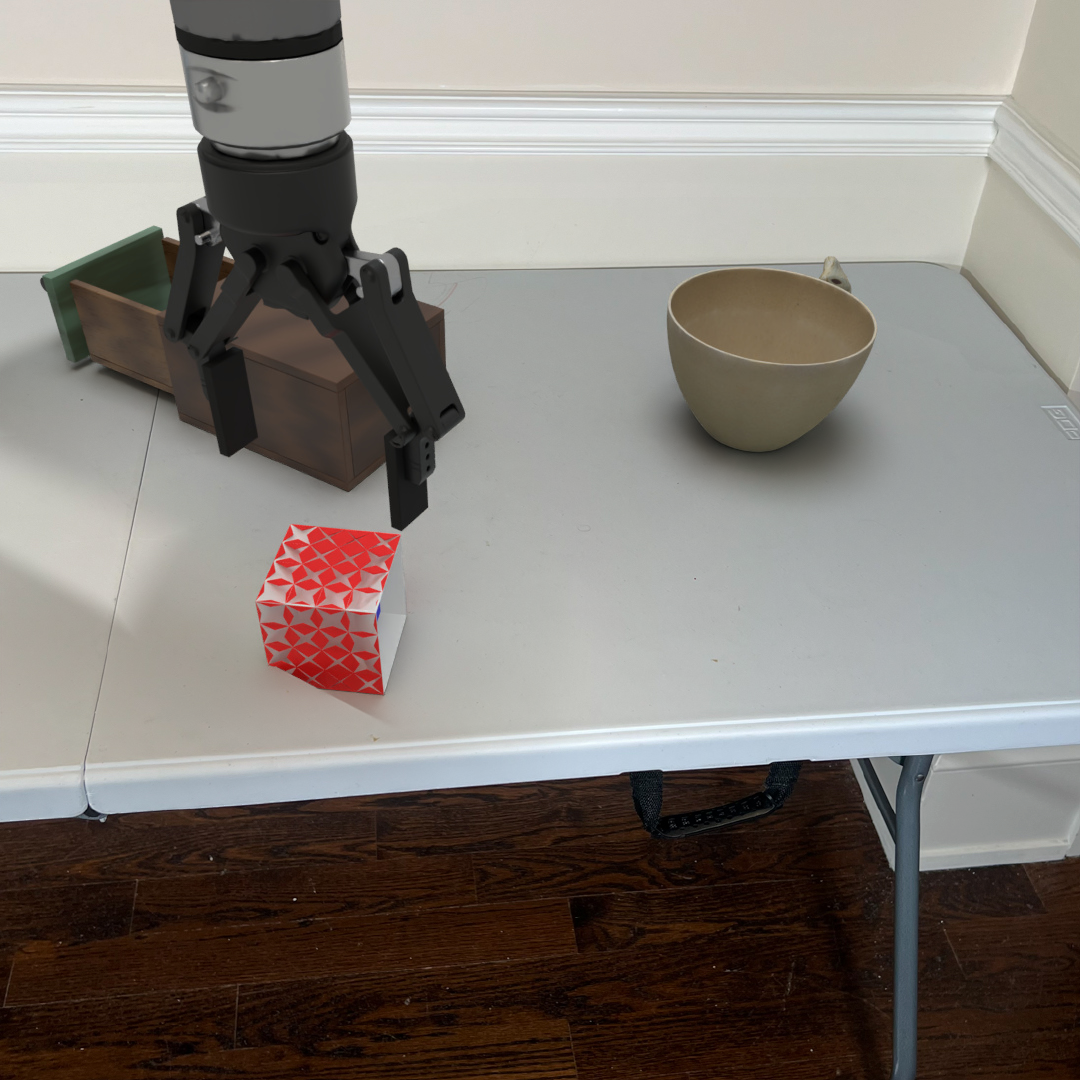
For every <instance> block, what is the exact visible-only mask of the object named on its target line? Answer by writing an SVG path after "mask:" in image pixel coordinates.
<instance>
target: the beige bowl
mask: <svg viewBox="0 0 1080 1080" xmlns="http://www.w3.org/2000/svg"><path fill="white" fill-rule="evenodd" d="M666 307H667V310H666V333H667V334H666V335H667V344H668V351H669V356H670V362H671V366H672V369H673V373H674V376H675V380H676V383H677V385H678V389H679V391H680V392H681V395H682V397H683V398H684V401H685V403H686V404H687V406H688V408H689V409H690V411H691V412H692V413H693V416H694V417H695V418H696V420H697V421H698V423H699V424H700V425H701V427H702V428H703V429H704V431H705V432H707V434H708V435H710V436H711V437H712V438H713V439H714V440H715V441H717V442H719V443H720V444H722V445H724V446H727V447H728V448H732V449H736V450H739V451H743V452H752V453H753V452H754V453H763V452H772V451H776V450H779V449H781V448H783V447H785V446H788V445H790V444H791V443H793V442H794V441H796V440H798V439H799V438H801V437H803V436H804V435H805V434H807V433H808V432H810V431H811V430H813V429H814V428H816V426H818V425H819V424H820V423H821V422H822V421H824V419H826V418H827V417H828V415H830V414H831V413H832V412H833V410H834V409H836V407H837V406H838V405H839V404H840V403H841V402H842V400H843V399H844V398H845V397H846V395H847V394H848V392H849V391H850V389H851V388H852V387H853V386H854V384H855V382H856V381H857V379H858V377H859V375H860V373H861V372H862V370H863V368H864V367H865V365H866V362H867V361H868V358H869V356H870V355H871V351H872V350H873V347H874V344H875V341H876V338H877V335H878V323H877V320H876V317H875V315H874V314H873V312H872V311H871V309H870V308H869V307H868V306H867V305H866V304H865V303H864V302H863V301H862V300H861V299H860V298H858V297H857V296H855V295H854V294H852V292H851V293H849V292H847V291H846V290H844V289H842V288H840V287H838V286H836V285H833V284H831V283H829V282H826V281H824V280H821V279H819V278H818V277H815V276H811V275H808V274H804V273H800V272H796V271H791V270H784V269H779V268H771V267H770V268H769V267H760V266H759V267H758V266H735V267H723V268H717V269H716V268H715V269H711V270H707V271H704V272H700V273H697V274H694V275H692V276H690V277H688V278H686V279H684V280H683V281H681V282H680V283H678V284H677V285H676V286H675V287H674V289H673V290H672V291H671V292H670V294H669V295H668V300H667V306H666Z"/></svg>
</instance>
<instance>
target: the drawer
mask: <svg viewBox="0 0 1080 1080" xmlns="http://www.w3.org/2000/svg"><path fill="white" fill-rule="evenodd" d="M179 244H180V240H178V239H175V238H172V237H170V236H165V235H164V230H163V228H162V227H160V226H157V225H152V226H149V227H147V228H144V229H143V230H141V231H138V232H136V233H134V234H131V235H129V236H127V237H124V238H122V239H120V240H118V241H116V242H114V243H112V244H109V245H107V246H105V247H102V248H100V249H98V250H96V251H94V252H91V253H89V254H87V255H85V256H82V257H80V258H78V259H76V260H73V261H71V262H69V263H67V264H65V265H63V266H60V267H58V268H55V269H54V270H51V271H49V272H47V273H45V274H42V275H41V277H40V279H39V283H40V286H41V287H42V289H43V290H44V291H45V292H46V293H47V297H48V300H49V303H50V307H51V310H52V313H53V316H54V320H55V323H56V327H57V330H58V333H59V337H60V341H61V343H62V346H63V351H64V353H65V356H66V359H67V361H70V362H72V363H75V364H77V363H78V362H80V361H83V360H84V359H86V358H88V357H90V360H91V361H92V362H94V363H97V364H98V365H101V366H104V367H106V368H108V369H110V370H113V371H116V372H118V373H120V374H123V375H125V376H127V377H130V378H133V379H135V380H137V381H140V382H142V383H144V384H147V385H149V386H152V387H155V388H156V389H159V390H161V391H163V392H166V393H169V394H171V395H173V396H174V392H173V388H172V383H171V379H170V375H169V370H168V366H167V362H166V357H165V353H164V349H163V344H162V340H161V336H160V331H159V327H158V323H157V318H156V314H158V313H160V312H162V311H164V310H166V309H167V304H168V299H169V294H170V289H171V284H172V279H173V274H174V269H175V264H176V259H177V254H178V249H179ZM234 262H235V260H234V259H233V258H232V257H228V256H226V255H224V256H223V260H222V264H221V268H220V272H219V276H218V280H217V282H219V281H221V280H223V279H225V278H226V277H227V276H228V275H229V273H230V272H231V270H232V268H233V267H234Z"/></svg>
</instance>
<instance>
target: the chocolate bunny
mask: <svg viewBox="0 0 1080 1080" xmlns="http://www.w3.org/2000/svg"><path fill="white" fill-rule="evenodd" d="M822 269H823V270H822V272H821V274H820V276H819V278H818V279H821V280H824V281H826V282H829V283H831V284H833V285H836V286H838V287H840V288H842V289H844V290H846V291H847V292H849V293H851V294H852V285H851V282H850V281H849V278H848V276H847V275H846V273H845V272H844V270H843V268H842V266H841V261H839V260H838V259H837V258H836V257H835V256H831V255H829V256H826V257H825V259H824V260H823V268H822Z"/></svg>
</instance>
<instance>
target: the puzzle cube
mask: <svg viewBox="0 0 1080 1080" xmlns="http://www.w3.org/2000/svg"><path fill="white" fill-rule="evenodd" d="M404 567H405V566H404V555H403V539H402V534H401V533H393V532H382V531H370V530H361V529H351V528H350V529H349V528H339V527H338V528H337V527H326V526H316V525H306V524H297V523H290V524H289V526H288V528H287V529H286V533H285V535H284V536H283V539H282V542H281V543H280V545H279V547H278V550H277V553H276V554H275V557H274V558H273V561H272V564H271V565H270V568H269V570H268V572H267V573H266V577H265V579H264V581H263V583H262V586H261V587H260V590H259V591H258V595H257V596H256V599H255V601H254V602H255V607H256V612H257V617H258V622H259V626H260V627H259V628H260V632H261V638H262V642H263V648H264V652H265V658H266V662H267V666H268V667H269V666H271V667H276V668H278V669H280V670H282V671H283V672H286V673H288V674H289V675H292V676H293V677H295V678H296V679H299V680H301V681H303V682H304V683H306V684H308V685H311V686H312V687H314V688H316V689H321V690H331V691H342V692H351V693H362V694H369V695H370V694H371V695H380V696H381V695H382V696H384V695H385V694H386V689H387V685H388V682H389V679H390V675H391V672H392V669H393V666H394V662H395V658H396V655H397V652H398V648H399V645H400V640H401V638H402V634H403V630H404V628H405V627H404V626H405V623H406V620H407V616H408V609H407V597H406V596H407V595H406V594H407V593H406V583H405V581H406V580H405V569H404Z"/></svg>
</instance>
